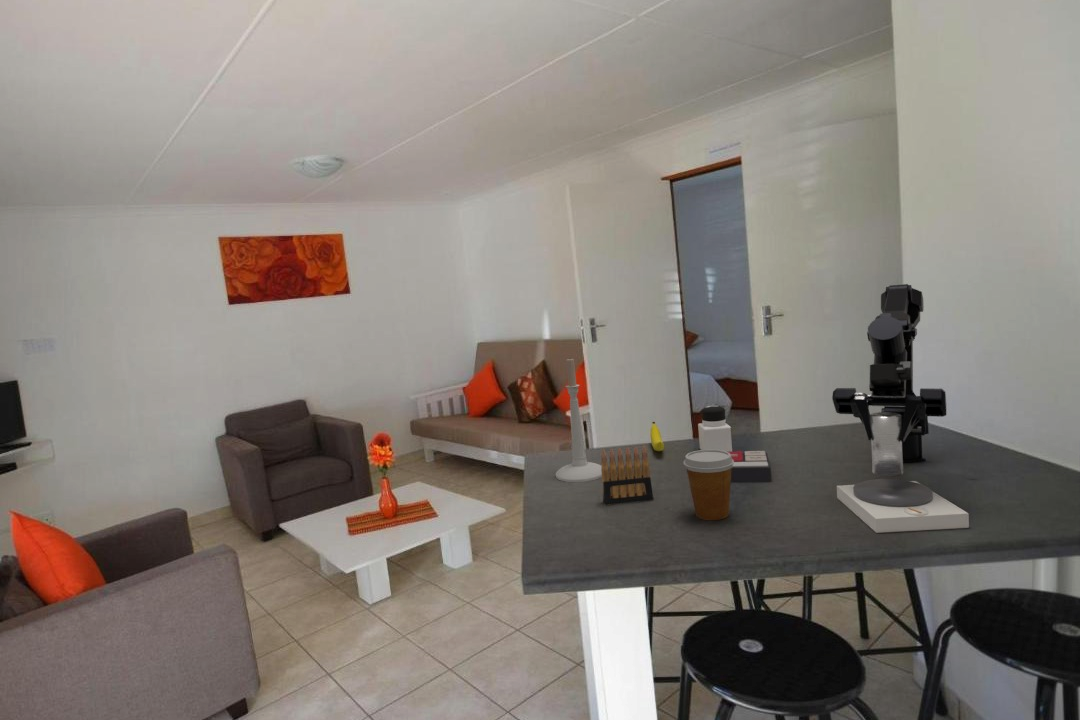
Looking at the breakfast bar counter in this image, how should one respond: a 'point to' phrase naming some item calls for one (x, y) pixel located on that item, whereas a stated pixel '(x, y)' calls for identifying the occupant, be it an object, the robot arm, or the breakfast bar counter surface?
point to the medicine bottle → (714, 430)
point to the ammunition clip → (626, 478)
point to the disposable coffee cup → (710, 482)
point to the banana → (656, 438)
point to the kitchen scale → (901, 506)
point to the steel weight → (886, 444)
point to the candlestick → (577, 440)
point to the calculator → (750, 466)
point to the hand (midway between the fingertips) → (885, 439)
